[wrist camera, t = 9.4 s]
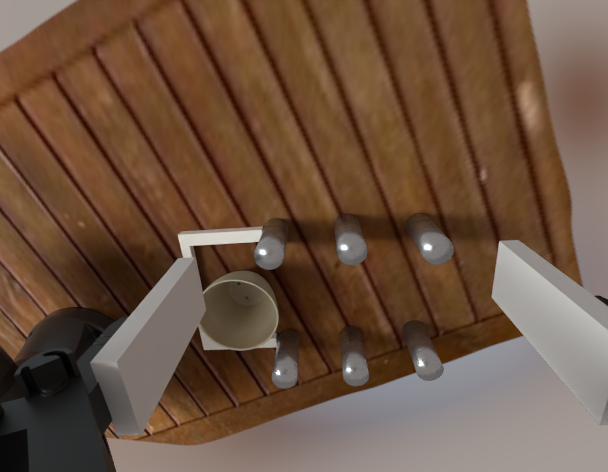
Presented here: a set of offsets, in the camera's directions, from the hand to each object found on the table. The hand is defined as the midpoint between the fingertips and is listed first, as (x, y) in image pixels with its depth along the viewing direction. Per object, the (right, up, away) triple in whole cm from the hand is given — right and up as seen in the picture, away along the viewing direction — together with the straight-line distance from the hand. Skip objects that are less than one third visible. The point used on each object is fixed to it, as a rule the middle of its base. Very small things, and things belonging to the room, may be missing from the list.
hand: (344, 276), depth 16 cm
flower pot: (-10, -5, +34) cm, 36 cm away
